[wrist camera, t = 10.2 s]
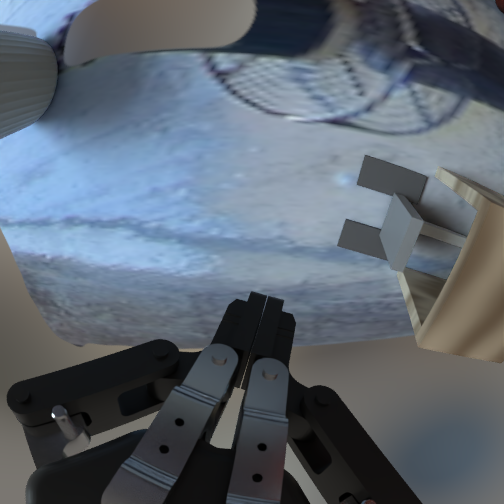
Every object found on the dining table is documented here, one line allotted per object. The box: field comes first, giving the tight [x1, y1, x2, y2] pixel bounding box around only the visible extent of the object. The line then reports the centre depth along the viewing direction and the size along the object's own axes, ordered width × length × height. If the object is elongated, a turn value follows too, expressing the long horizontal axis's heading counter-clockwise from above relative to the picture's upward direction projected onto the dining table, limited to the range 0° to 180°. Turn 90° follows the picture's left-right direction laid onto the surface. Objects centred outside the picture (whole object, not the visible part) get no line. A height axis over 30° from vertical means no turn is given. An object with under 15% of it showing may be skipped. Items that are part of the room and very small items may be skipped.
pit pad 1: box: [337, 219, 388, 261], centre depth 33 cm, size 3×7×1 cm, turn 79°
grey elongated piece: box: [379, 192, 467, 273], centre depth 26 cm, size 27×8×8 cm, turn 79°
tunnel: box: [397, 166, 504, 363], centre depth 25 cm, size 11×13×12 cm
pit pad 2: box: [357, 155, 427, 204], centre depth 29 cm, size 3×7×1 cm, turn 79°
